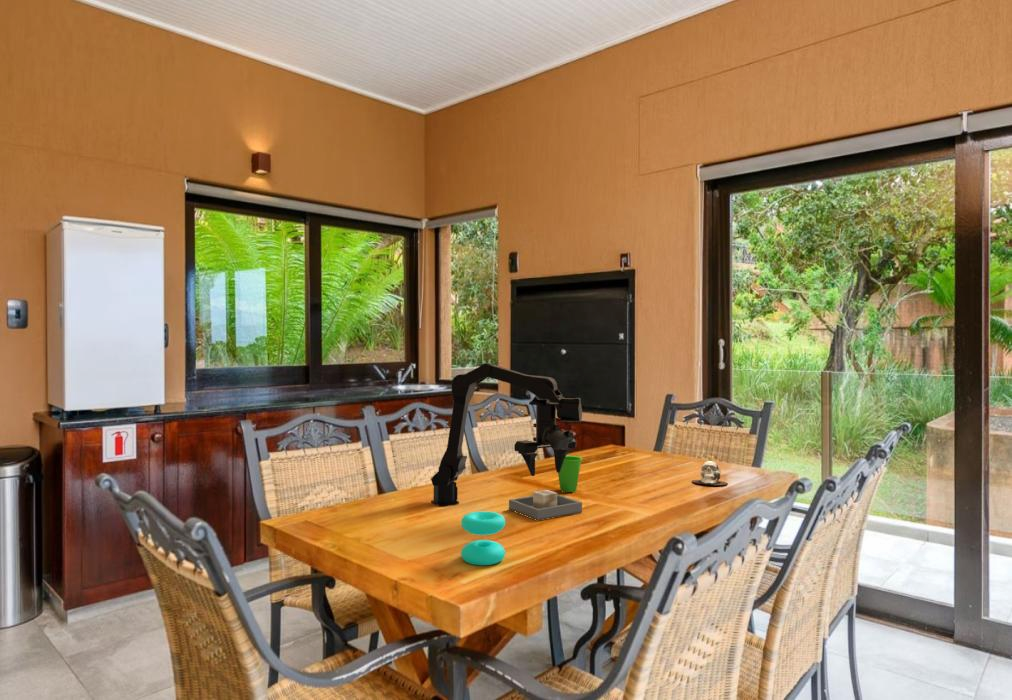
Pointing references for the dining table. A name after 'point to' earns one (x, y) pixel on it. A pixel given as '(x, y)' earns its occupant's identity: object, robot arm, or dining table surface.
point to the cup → (569, 473)
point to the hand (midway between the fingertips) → (545, 474)
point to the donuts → (483, 549)
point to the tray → (563, 508)
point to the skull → (710, 474)
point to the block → (544, 499)
